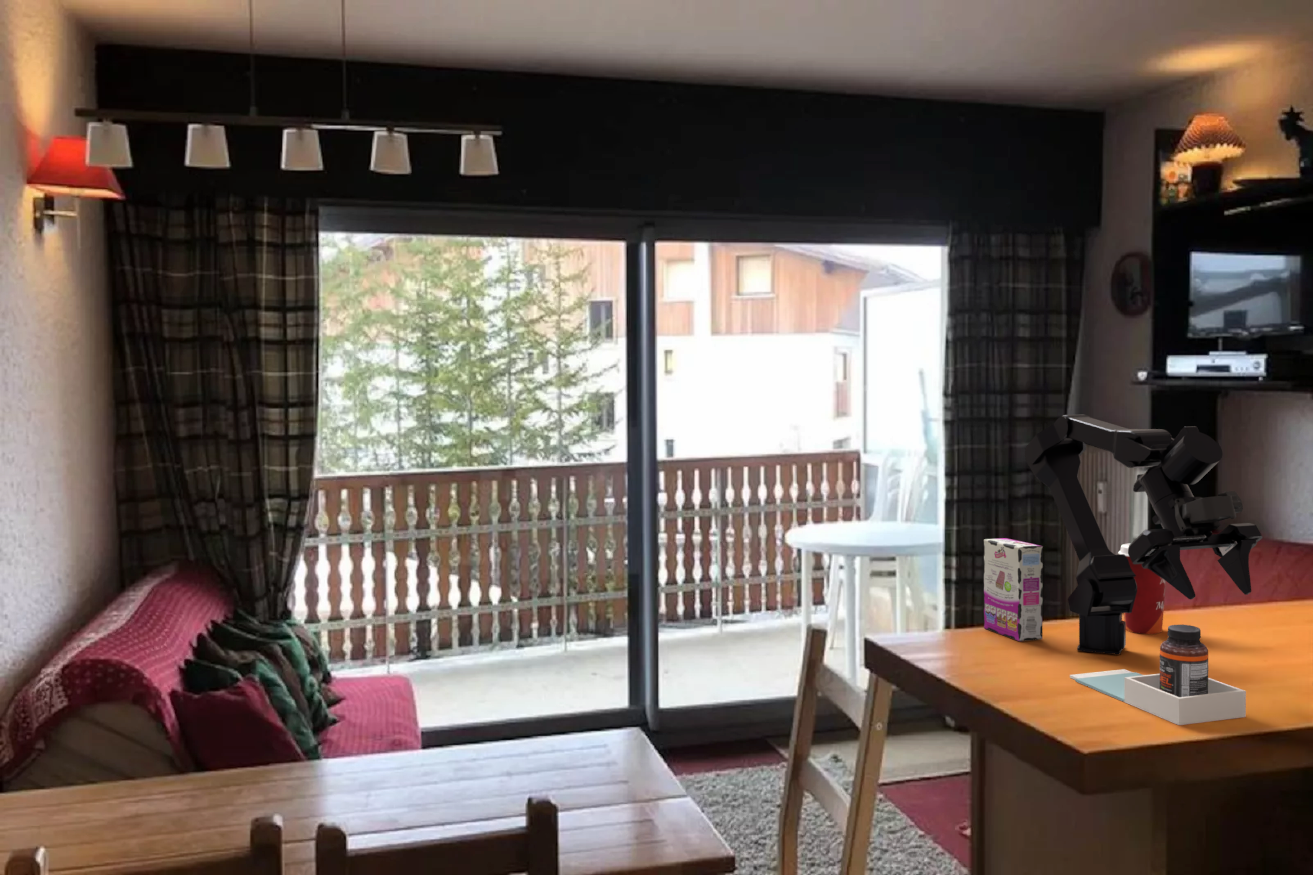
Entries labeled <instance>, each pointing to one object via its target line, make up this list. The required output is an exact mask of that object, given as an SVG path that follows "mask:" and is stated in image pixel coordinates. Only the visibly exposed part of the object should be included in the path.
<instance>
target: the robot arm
mask: <svg viewBox="0 0 1313 875" xmlns="http://www.w3.org/2000/svg"><path fill="white" fill-rule="evenodd" d="M1087 445H1088V446H1092V447H1094V448H1098V449H1100V450H1104V451H1107V452H1109V453H1111V454H1112V457H1113V459H1114V460H1115V461H1117V462H1118V463H1120V465H1123V466H1125V467H1126V468H1129V469H1135V468H1148V469H1147V470H1145V472H1144V473H1140V474H1137V475H1136V480H1135V483H1134V484H1133V488H1132V491H1133V492H1134V493H1145V495H1146V496H1147V498H1148V500H1149V503H1150V504H1151V507H1152V509H1153V510H1154V512H1155V515H1154V516H1153V517H1152V518H1151V520H1152V522H1153V524H1154V525H1161V527H1162V528H1153V529H1150V528H1149V529H1144V530H1143V531H1142V532H1141V533H1140V534H1139V535H1138V536H1137V537H1136V538H1135V539H1134V540H1132V542H1131V544H1130V545H1129V548H1128V554H1129V556H1130V559H1131V561H1132V563H1133V564H1142V567H1143V568H1144V569H1149V570H1151V571H1152V572H1154V573H1155V574H1156V575H1158V576H1159V577H1161V578H1162V579H1164V580H1165V581H1166V582H1167V583H1168V584H1169V585H1171V587H1173V588H1174V589H1175V590H1177V591H1178V592H1179V593H1180V594H1181V595H1183V596H1184V597H1186V598H1187V599H1188V600H1193V599H1194V598H1196V592H1195V589H1194V586H1193V584H1192V582H1191V580H1190V578H1189V575H1188V574H1187V571H1186V569H1185V567H1184V565H1183V563H1182V561H1181V551H1187V550H1199V549H1212V551H1213V552H1214V555H1217V556H1218V557H1219V558H1218V559H1217V563H1218V564H1219V565H1220V567H1221V568H1222V569H1223V571H1225V572H1226V574H1227V576H1228V577H1229V578H1230V579H1231V580H1232V581H1233V583H1234V584H1235V586H1236V587H1237V588H1238V589H1239V590H1240V591H1241V592H1242V593H1243V594H1244V595H1245V596H1247V595H1249V594H1251V593H1252V584H1251V573H1250V562H1249V561H1250V554H1251V550H1252V549H1253V548H1254V547H1256V546H1257V544H1258V542H1260V541H1261V540H1262V539H1263V536H1262V533H1261V532H1260V530H1259V528H1258V526H1257V525H1256V524H1254V523H1251V522H1243V523H1230V524H1228V525H1227V526H1226V527H1225V528H1224V529H1223V530H1221V531H1220V532H1219V533H1215V534H1214V533H1213V532H1212V531H1213V530H1217V529H1218V528H1219V527H1220V526H1221V523H1220V522H1221V521H1224V520H1225V521H1226V520H1229V519H1230V520H1233V519H1236V518H1237V514H1238V513H1242V512H1243V510H1244V506H1243V502H1242V499H1241V497H1240V495H1238V493H1237V492H1236V491H1235V490H1230V491H1224V492H1221V493H1220V492H1219V493H1218V494H1217V496H1216V495H1215V496H1208V497H1202V496H1194V495H1193V493H1192V490H1191V489H1190V486H1189V485H1195V484H1197V483H1198V482H1199V481H1201V479H1203V477H1204V476H1205V475H1206V474H1208V472H1210V471H1211V469H1213V468H1214V467H1215V466H1216V465H1217V464H1218V463H1219V462H1220V461H1221V460H1222V458H1223V449H1222V447H1221V445H1220V443H1219V442H1217V441H1215V439H1213V438H1212V437H1211V436H1210V435H1208V434H1206V433H1203V432H1200V430H1199V429H1198V427H1197V426H1195V425H1194V426H1184V427H1183V428H1181V429H1180V431H1179V433H1178V434H1177V436H1176V437H1175V438H1173V437H1172V434H1171V433H1170V432H1169V431H1168V430H1167V429H1160V428H1158V429H1156V428H1152V429H1151V428H1149V429H1148V428H1143V429H1140V428H1131V429H1130V428H1128V427H1123V426H1120V425H1117V424H1113V423H1110V422H1107V421H1103V420H1100V419H1096V418H1094V417H1091V416H1089V415H1087V414H1082V413H1081V414H1063V415H1062V416H1059V417H1058V418H1057V419H1056V420H1055V422H1054V423H1053V424H1051V425H1049V426H1047V427H1045V428H1044V429H1043V430H1041V431H1039V432H1038V433H1036V434H1035V435H1034V436H1033V437H1032V439H1031V440H1030V441H1029V442H1028V443H1027V445H1026V447H1025V449H1024V457H1025V461H1026V464H1027V465H1028V466H1029V468H1030V470H1031V472H1032V473H1033V475H1034V477H1035V478H1036V479H1037V480H1038V481H1040V482H1041V483H1043V484H1044V485H1045V486H1046V487H1048V488H1049V490H1050V492H1051V494H1052V497H1053V500H1054V502H1055V505H1056V507H1057V509H1058V512H1059V514H1060V518H1061V519H1062V522H1063V523H1064V527H1065V529H1066V531H1067V534H1068V536H1069V539H1070V541H1071V544H1072V545H1073V548H1074V550H1075V553H1076V555H1077V557H1078V560H1079V562H1078V566H1077V571H1076V576H1075V578H1076V583H1077V586H1076V587H1075V589H1074V590H1072V593H1071V594H1070V595H1069V596H1068V598H1067V602H1068V608H1069V611H1070V612H1072V613H1075V614H1078V620H1079V621H1078V624H1079V625H1078V626H1079V627H1078V645H1077V648H1076V651H1078V652H1087V653H1088V652H1089V653H1099V654H1108V655H1121V652H1122V650H1124V649H1125V647H1126V643H1127V640H1126V637H1127V634H1126V632H1127V630H1126V622H1125V621H1124V620H1123V618H1122V617H1123V614H1124V613H1131V612H1132V609H1133V605H1134V601H1135V598H1136V594H1137V584H1136V581H1135V579H1134V577H1136V575H1135V573H1134V572H1133V571H1132V569H1131V567H1130V564H1129V561H1128V558H1127V557H1126V556H1125V555H1124V554H1114V553H1113V552H1112V551H1111V550H1110V549H1109V547H1108V543H1107V542H1106V540H1105V537H1104V535H1103V533H1102V530H1101V528H1100V526H1099V523H1098V521H1097V519H1096V517H1095V515H1094V512H1093V510H1092V507H1091V506H1090V505H1091V504H1090V503H1089V500H1088V498H1087V496H1086V494H1085V491H1084V489H1083V487H1082V484H1081V482H1080V480H1079V473H1080V472H1079V471H1080V469H1081V468H1080V467H1081V465H1082V459H1081V458H1080V457H1081V456H1082V454H1083V453H1084V452H1085V451H1087Z"/></svg>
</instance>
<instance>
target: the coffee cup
mask: <svg viewBox="0 0 1313 875" xmlns="http://www.w3.org/2000/svg"><path fill="white" fill-rule="evenodd" d="M1131 543H1132V542H1131ZM1131 543H1130V542H1128V543H1123V544H1121V546H1120V550H1119V551H1118V552H1117V555H1120V554H1124V555H1125V556H1126V557H1127V558H1128V561H1129V564H1130V567H1131V569H1132V571H1133V572H1134V573H1135V575H1136V577H1134V579H1135V581H1136V584H1137V594H1136V598H1135V601H1134V605H1133V609H1132V612H1131V613H1123V621H1125V622H1126V632H1130V633H1134V634H1139V635H1154V634H1156V635H1157V634H1160V633H1162V631H1163V626H1164V625H1163V621H1164V611H1165V610H1164V609H1165V595H1166V594H1165V592H1166V582H1167V581H1165V580H1164V579H1162V578H1161V577H1159V576H1158V575H1156V574H1155V573H1154V572H1152V571H1151V570H1149V569H1144V568H1143V567H1142V564H1133V563H1132V561H1131V559H1130V556H1129V554H1128V548H1129V545H1130V544H1131Z"/></svg>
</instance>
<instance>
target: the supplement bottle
mask: <svg viewBox="0 0 1313 875" xmlns="http://www.w3.org/2000/svg"><path fill="white" fill-rule="evenodd" d="M1166 636H1167V639H1165V640H1164V641H1162V643H1161V644H1160V646H1159V674H1160V690H1162V691H1165V692H1167V693H1170V694H1172V695H1175V696H1177V697H1186V696H1195V695H1203V694H1208V678H1209V649H1208V647H1207V646H1206V645H1205V644H1204V643H1202V642H1201V640H1200V639H1202V636H1201V628H1200V627H1198V626H1194V625H1191V624H1172V625H1168V627H1167V635H1166Z"/></svg>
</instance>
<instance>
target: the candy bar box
mask: <svg viewBox="0 0 1313 875" xmlns="http://www.w3.org/2000/svg"><path fill="white" fill-rule="evenodd" d="M1043 547H1044V546H1043V545H1039V544H1035V543H1030V542H1027V541H1026V542H1025V541H1021V540H1017V539H1011V538H1007V537H1005V538H1003V537H1002V538H1000V537H999V538H997V537H996V538H985V539H983V628H984V629H985V630H988V631H991V632H993V633H996V634H998V635H1001V636H1004V637H1007V638H1010V639H1012V640H1015V641H1017V642H1028V641H1030V642H1031V641H1032V642H1033V641H1040V640H1043V636H1044V635H1043V600H1044V598H1043V584H1044V583H1043V581H1044V580H1043V577H1044V576H1043V574H1044V573H1043V572H1044V569H1043V568H1044V566H1043V565H1044V564H1043V560H1044V558H1043V556H1044V555H1043V554H1044V553H1043V551H1044V550H1043V549H1044V548H1043Z"/></svg>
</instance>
